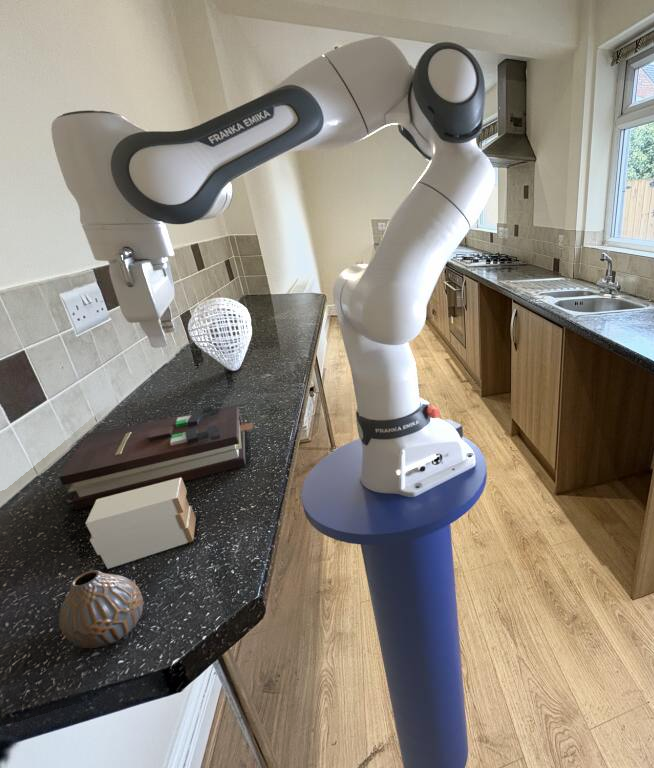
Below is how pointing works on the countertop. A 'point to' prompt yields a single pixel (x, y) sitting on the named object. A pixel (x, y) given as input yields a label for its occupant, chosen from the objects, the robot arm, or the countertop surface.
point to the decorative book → (156, 453)
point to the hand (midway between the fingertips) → (164, 338)
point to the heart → (199, 335)
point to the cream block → (136, 507)
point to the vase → (100, 609)
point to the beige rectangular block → (146, 538)
